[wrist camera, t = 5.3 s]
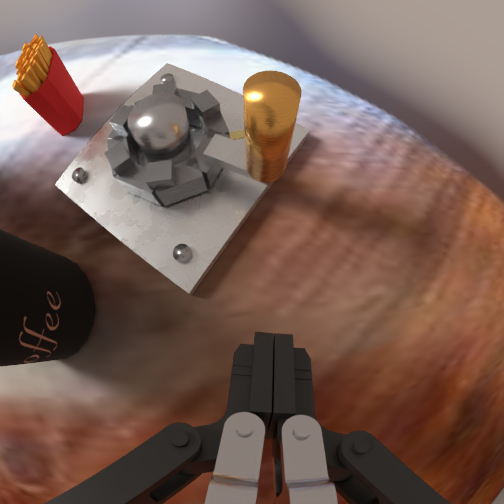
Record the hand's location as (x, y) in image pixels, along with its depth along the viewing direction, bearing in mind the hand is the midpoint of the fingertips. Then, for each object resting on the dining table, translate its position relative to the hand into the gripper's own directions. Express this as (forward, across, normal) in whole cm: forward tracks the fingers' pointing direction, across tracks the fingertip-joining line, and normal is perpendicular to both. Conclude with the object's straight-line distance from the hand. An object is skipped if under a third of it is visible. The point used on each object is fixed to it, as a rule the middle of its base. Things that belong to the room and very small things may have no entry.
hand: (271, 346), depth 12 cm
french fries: (+28, -27, +6) cm, 39 cm away
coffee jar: (+11, -21, -11) cm, 26 cm away
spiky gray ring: (+20, -7, +1) cm, 22 cm away
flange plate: (+22, -10, +1) cm, 25 cm away
